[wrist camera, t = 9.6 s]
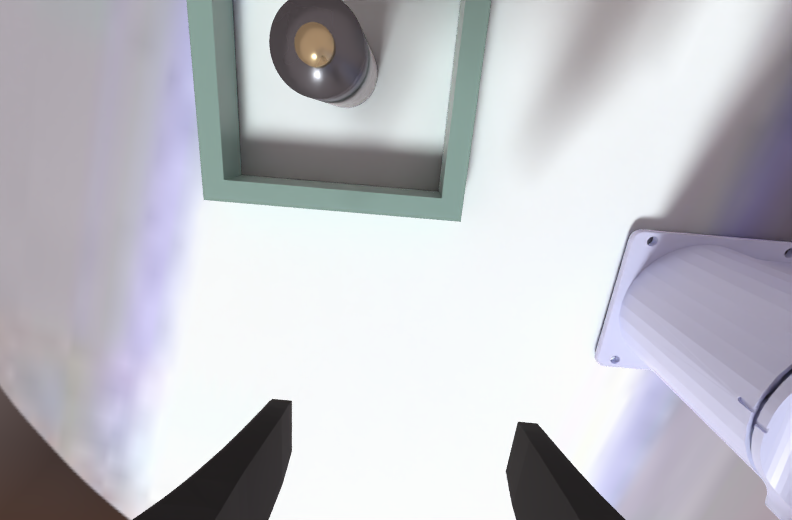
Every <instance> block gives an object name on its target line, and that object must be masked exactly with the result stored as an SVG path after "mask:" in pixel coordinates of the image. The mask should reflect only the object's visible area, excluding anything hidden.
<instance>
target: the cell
mask: <svg viewBox="0 0 792 520" xmlns="http://www.w3.org/2000/svg"><path fill="white" fill-rule="evenodd" d="M269 43H270V53H271V57H272V61H273V64H274V66H275V68H276V70H277V72H278V74H279V75H280V77H281V78H282V79H283V81H284V82H285V83H286V84H287V85H288V86H289V87H290V88H292V89H293V90H294V91H296V92H297V93H299V94H301V95H304V96H307V97H310V98H313V99H316V100H319V101H322V102H326V103H329V104H332V105H335V106H338V107H343V108H350V107H355V106H358V105H360V104H362V103H363V102H365V101H366V100H367V99H368V98H369V97H370V95H371V94H372V92H373V91H374V88H375V86H376V83H377V77H378V71H377V64H376V61H375V58H374V56H373V53H372V51H371V49H370V47H369V45H368V42H367V40H366V38H365V36H364V33H363V31H362V29H361V27H360V24H359V22H358V20H357V18H356V17H355V15H354V14H353V12H352V11H351V10H350V9H349V7H348V6H347V5H346V4H344V3H343V2H342V1H341V0H288V1H287V2H286V3H285V4H283V6H282V7H281V8H280V9H279V11H278V12H277V14H276V16H275V18H274V20H273V23H272V26H271V31H270V40H269Z"/></svg>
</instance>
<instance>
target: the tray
mask: <svg viewBox="0 0 792 520" xmlns="http://www.w3.org/2000/svg"><path fill="white" fill-rule="evenodd" d="M490 6H491V0H461V1H460V10H459V18H458V27H457V35H456V44H455V52H454V61H453V70H452V78H451V87H450V95H449V104H448V112H447V121H446V130H445V138H444V147H443V155H442V164H441V172H440V181H439V190H438V191H426V190H415V189H403V188H391V187H379V186H367V185H356V184H344V183H332V182H320V181H309V180H297V179H285V178H273V177H261V176H250V175H242V173H241V154H240V135H239V116H238V96H237V77H236V58H235V39H234V20H233V0H187V10H188V22H189V34H190V45H191V57H192V68H193V80H194V92H195V103H196V115H197V127H198V138H199V150H200V161H201V173H202V185H203V196H204V200H212V201H223V202H235V203H247V204H259V205H271V206H282V207H294V208H306V209H318V210H330V211H341V212H353V213H365V214H377V215H389V216H400V217H412V218H424V219H436V220H448V221H459V222H461V215H462V207H463V200H464V193H465V186H466V179H467V172H468V164H469V157H470V150H471V143H472V136H473V128H474V121H475V114H476V107H477V100H478V93H479V85H480V78H481V71H482V64H483V57H484V50H485V42H486V35H487V28H488V21H489V14H490Z"/></svg>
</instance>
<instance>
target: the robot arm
mask: <svg viewBox="0 0 792 520" xmlns="http://www.w3.org/2000/svg"><path fill="white" fill-rule="evenodd" d="M650 237H653V240H652V242H651V243H649V244H647V240H648V239H649V238H650ZM786 250H788V252H787V253H786V254H785V252H786ZM613 356H616V357H615V358H614V359H613V360H610V359H611V358H612V357H613ZM595 360H596V361H597V362H598V364H600V365H602V366H609V367H621V368H633V369H645V370H652V371H653V372H654V373H655V374H656V375H657V376H658V377H659V378H660V379H661V380H662V381H663V382H665V383H666V384H667V385H668V386H669V387H670V388H671V389H672V390H673V391H674V392H675V393H676V394H677V395H678V396H679V397H680V398H681V399H682V400H683V401H684V402H685V403H686V404H687V405H688V406H689V407H690V408H691V409H692V410H693V411H694V412H695V413H696V414H697V415H698V416H699V417H700V418H701V419H702V420H703V421H704V422H705V423H706V424H707V425H708V426H709V427H710V428H711V429H712V430H713V431H714V432H715V433H716V434H717V435H718V436H719V437H720V438H721V439H722V440H723V441H724V442H725V443H726V444H727V445H728V446H729V447H730V448H731V449H732V450H733V451H734V452H735V453H736V454H737V455H738V456H739V457H740V458H741V459H742V460H743V461H744V462H745V463H746V464H747V465H748V466H749V467H750V468H751V469H752V470H753V471H754V472H755V473H756V474H757V475H758V476H760V477H761V478H762V479H763V481H764V483H765V484H766V487H767V497H766V501H765V505H766V506H767V507H768V508H769V509H770V510H771V511H772V512H773V513H774V514H775V515H776V516H777V517H778V518H779V519H780V520H792V242H785V241H774V240H762V239H750V238H738V237H726V236H715V235H703V234H691V233H679V232H667V231H656V230H644V229H640V230H636V231H634V232H633V233H632V234H631V235H630V237H629V240H628V243H627V246H626V250H625V253H624V257H623V260H622V263H621V267H620V270H619V274H618V277H617V281H616V284H615V287H614V291H613V294H612V298H611V301H610V304H609V308H608V311H607V315H606V318H605V322H604V325H603V328H602V332H601V335H600V339H599V342H598V345H597V349H596V352H595ZM291 452H292V401H288V400H278V399H272V400H271V401H269V402H268V403H267V404H266V406H265V407H264V408H263V409H262V410H261V411H260V412H259V413H258V414H257V415H256V416H255V417H254V418H253V419H252V420H251V421H250V422H249V423H248V424H247V425H246V426H245V427H244V428H243V429H242V430H241V431H240V432H239V433H238V434H237V435H236V436H235V437H234V438H233V439H232V440H231V441H230V442H229V443H228V444H227V445H226V446H225V447H224V448H223V449H222V450H221V451H219V452H218V453H217V454H216V455H215V456H214V457H213V458H212V459H210V460H209V461H208V462H207V463H206V464H205V465H204V466H202V467H201V468H200V469H199V470H198V471H197V472H196V473H194V474H193V475H192V476H191V477H190V478H188V479H187V480H186V481H185V482H183V483H182V484H181V485H180V486H178V487H177V488H176V489H174V490H173V491H172V492H171V493H169V494H168V495H167V496H165V497H164V498H163V499H161V500H160V501H159V502H157V503H156V504H154V505H153V506H151V507H150V508H149V509H147V510H146V511H144V512H143V513H142V514H140V515H139V516H137V517H136V518H134V519H133V520H268V519H269V517H270V514H271V512H272V509H273V507H274V504H275V502H276V499H277V497H278V494H279V492H280V489H281V487H282V484H283V480H284V477H285V474H286V470H287V466H288V463H289V459H290V456H291ZM506 474H507V480H508V486H509V491H510V496H511V501H512V506H513V510H514V513H515V517H516V520H625V519H624V518H623V517H622V516H621V515H620V514H619V513H618V512H617V511H616V510H615V509H614V508H613V507H612V506H611V505H610V504H609V503H608V502H607V501H606V500H605V499H604V498H603V497H602V496H601V495H600V494H599V493H598V492H597V491H596V490H595V488H594V487H593V486H592V485H591V484H590V483H589V482H588V481H587V480H586V479H585V478H584V477H583V476H582V474H581V473H580V472H579V471H578V470H577V469H576V468H575V467H574V466H573V464H572V463H571V462H570V461H569V460H568V459H567V458H566V456H565V455H564V454H563V453H562V452H561V451H560V449H559V448H558V447H557V446H556V445H555V444H554V442H553V441H552V440H551V439H550V438H549V437H548V435H547V434H546V433H545V432H544V431H543V430H542V429H541V427H540V426H539V425H538V424H536V423H525V422H518V424H517V428H516V432H515V436H514V440H513V444H512V448H511V453H510V457H509V461H508V465H507V469H506Z"/></svg>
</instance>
